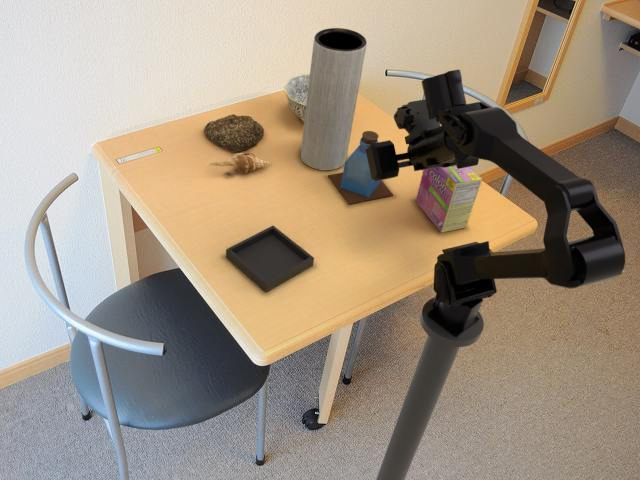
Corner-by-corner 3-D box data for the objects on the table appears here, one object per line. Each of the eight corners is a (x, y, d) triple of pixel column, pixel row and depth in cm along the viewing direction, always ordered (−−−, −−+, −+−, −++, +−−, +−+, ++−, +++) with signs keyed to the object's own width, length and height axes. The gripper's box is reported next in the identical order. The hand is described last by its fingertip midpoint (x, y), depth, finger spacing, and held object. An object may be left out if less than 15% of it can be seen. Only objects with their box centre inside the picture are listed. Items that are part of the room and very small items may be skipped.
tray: (313, 265, 118) (314, 257, 117) (265, 292, 113) (266, 284, 112) (272, 233, 124) (273, 225, 123) (225, 257, 119) (226, 249, 118)
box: (414, 201, 133) (427, 152, 125) (438, 196, 134) (453, 148, 126) (440, 233, 126) (456, 184, 118) (465, 228, 127) (483, 179, 119)
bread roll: (230, 158, 142) (231, 138, 138) (196, 132, 149) (196, 113, 145) (275, 138, 148) (276, 119, 145) (240, 115, 155) (241, 96, 151)
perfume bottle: (380, 182, 137) (391, 133, 128) (368, 197, 133) (378, 147, 124) (353, 172, 139) (362, 123, 130) (340, 187, 135) (349, 137, 127)
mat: (392, 196, 134) (393, 194, 134) (348, 205, 131) (349, 203, 131) (370, 168, 141) (370, 167, 141) (327, 176, 138) (328, 175, 138)
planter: (292, 150, 145) (305, 31, 126) (331, 141, 148) (350, 24, 129) (313, 175, 138) (330, 54, 120) (354, 165, 141) (377, 46, 123)
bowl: (272, 104, 159) (275, 76, 154) (334, 97, 162) (338, 69, 157) (294, 140, 148) (297, 110, 143) (359, 132, 151) (364, 103, 146)
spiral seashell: (256, 156, 143) (257, 139, 140) (271, 167, 140) (272, 149, 137) (205, 177, 137) (205, 159, 134) (219, 189, 134) (219, 170, 131)
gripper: (481, 87, 108) (430, 113, 123) (381, 103, 103) (340, 128, 118) (495, 153, 108) (442, 171, 123) (396, 173, 103) (353, 188, 118)
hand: (395, 163), depth 120 cm, fingers open, 9 cm apart
